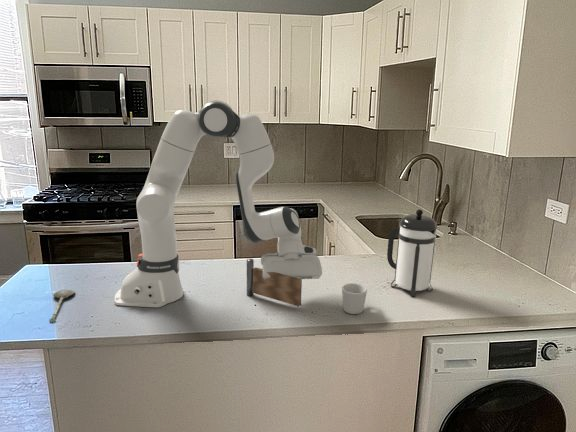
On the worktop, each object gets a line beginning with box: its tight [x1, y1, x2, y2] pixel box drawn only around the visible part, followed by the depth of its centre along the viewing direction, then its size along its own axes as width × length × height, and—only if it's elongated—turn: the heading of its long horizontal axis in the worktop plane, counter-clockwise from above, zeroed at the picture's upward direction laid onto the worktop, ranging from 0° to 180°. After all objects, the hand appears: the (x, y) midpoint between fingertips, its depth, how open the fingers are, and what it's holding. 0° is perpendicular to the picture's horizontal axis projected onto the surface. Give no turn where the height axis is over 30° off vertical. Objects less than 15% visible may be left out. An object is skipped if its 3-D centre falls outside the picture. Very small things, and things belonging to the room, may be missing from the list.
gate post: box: [246, 258, 255, 297], centre depth 150 cm, size 2×2×13 cm
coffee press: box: [386, 209, 438, 298], centre depth 157 cm, size 17×16×30 cm
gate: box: [253, 267, 303, 307], centre depth 145 cm, size 18×2×9 cm, turn 59°
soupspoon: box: [48, 289, 76, 323], centre depth 141 cm, size 22×3×7 cm
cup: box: [341, 282, 368, 315], centre depth 142 cm, size 11×8×8 cm
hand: (293, 291), depth 144 cm, fingers closed
